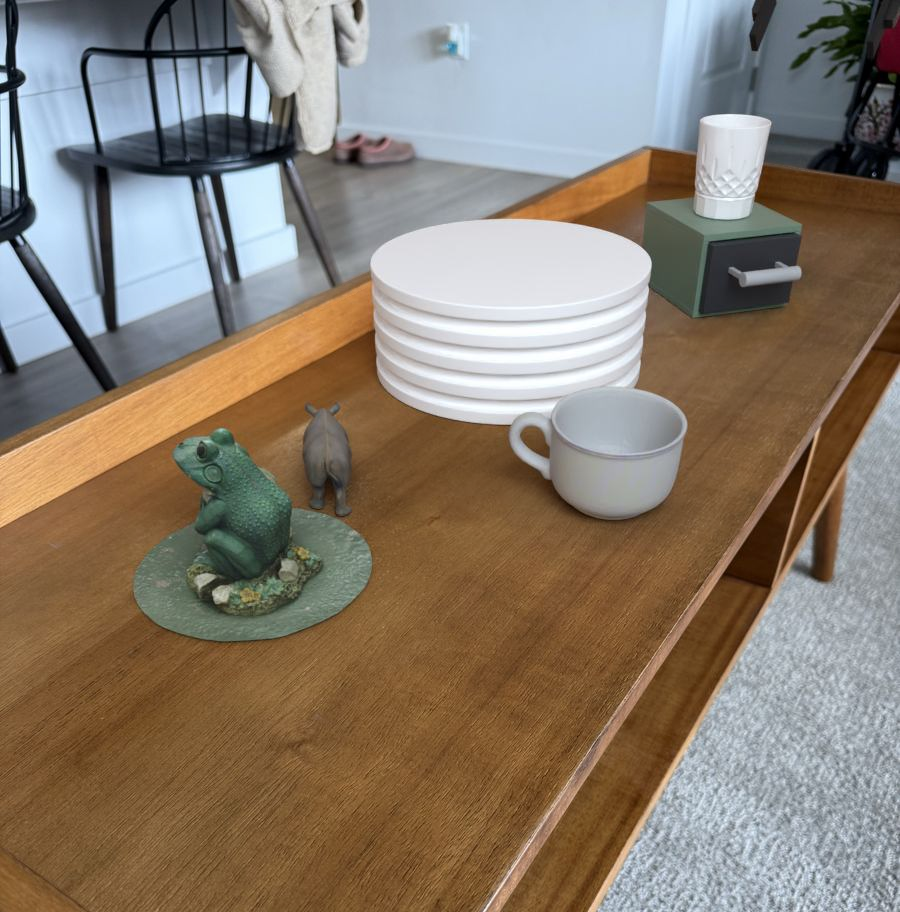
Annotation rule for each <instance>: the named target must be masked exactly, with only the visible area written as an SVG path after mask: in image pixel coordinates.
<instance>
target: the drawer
mask: <svg viewBox="0 0 900 912" xmlns="http://www.w3.org/2000/svg"><path fill="white" fill-rule="evenodd" d="M802 238H803V236H802V235H801V234H800V235H799V234H797V233H794V234H785V235H784V233H782V234H773V235H764V236H755V237H746V238H737V239H728V240H719V241H710V242H709V243H708V248H707V255H706V262H705V269H704V276H703V283H702V289H701V296H700V303H699V311H700V312H702V313H703V314H704V313H712V312H720V311H728V310H735V309H743V308H751V307H759V306H766V305H774V304H782V303H786V304H788V303H789V302H790V298H791V293H792V289H793V282H797V281H799V280H801V278H802V275H803V274H802V268H801V266H799V265H797V262H798V259H799V253H800V248H801V243H802Z"/></svg>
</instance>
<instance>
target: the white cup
mask: <svg viewBox="0 0 900 912" xmlns="http://www.w3.org/2000/svg"><path fill="white" fill-rule="evenodd" d="M698 127H699V128H698V138H697V139H698V140H697V151H696V159H695V176H694V177H695V178H694V189H695V191H694V196H693V198H694V206H693V210H694V212H695V213H696V214H697V215H700V216H702V217H705V218H709V219H710V218H711V219H721V220H735V219H741V218H745V217H748V216H749V215H750V214H751V212H752V208H753V203H754V202H755V198H756V193H757V190H758V187H759V183H760V179H761V174H762V170H763V165H764V161H765V157H766V151H767V147H768V142H769V138H770V137H769V136H770V133H771V128H772V121H771V120H770V119H769V118H765V117H762V116H758V115H753V114H752V115H751V114H742V113H741V114H740V113H739V114H737V113H725V114H724V113H722V114H712V115H707V116H704V117H702V118H700V119H699V126H698Z"/></svg>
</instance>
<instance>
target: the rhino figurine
mask: <svg viewBox="0 0 900 912" xmlns="http://www.w3.org/2000/svg"><path fill="white" fill-rule="evenodd" d="M340 405H341V404H340V402H335V403H333V404H332V406H331V407H330V408H329V409H327V408H326V407H325V408H324V407H322V408H319V409H316V408H315V407H314V406H313V405H312V404H310V403H309V402H305V405H304V410H305V411H306V413H308V414H309V415H311V416H312V418H311V420H310V421H309V423H308V424H307V426H306V427H305V430H304V433H303V437H302V452H301V453H302V454H301V455H302V460H303V463H304V471H305V474H306V478H307V480H308V482H309V483H310V485H311V487H312V498H311V499H310V500H309V502H308V506H309V507H310V508H312V509H314V510H321V509H324V507H325V506H326V498H325V497H324V495H325V490H326V489H325V488H326V482H327V480H328V478H329V479H330V482H331V484H332V487H333V490H334V500H335V507H334V512H335V515H336V516H337V517H345V516H348V515H349V514H351V513H352V512H353V509H352V507H351V506H350V505H348V504H347V495H348V494H347V493H348V485H349V482H350V480H351V476H352V472H353V471H352V470H353V469H352V468H353V465H352V457H353V452H352V448H351V445H350V439H349V436H348V433H347V431H346V428H345V427H344V426H343V424H341V423H340V422H339V421H338V420H337V418H336V417H334V416H335V415H336V414H337V413H338V412H340V410H341V406H340Z"/></svg>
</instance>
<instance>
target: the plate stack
mask: <svg viewBox="0 0 900 912" xmlns="http://www.w3.org/2000/svg"><path fill="white" fill-rule="evenodd" d="M369 265H370V278H371V281H372V285H371V299H372V305H373V307H374V308H373V327H374V331H375V333H374V344H375V345H374V346H375V354H376V357H375V358H376V360H375V361H376V364H375V365H376V374H377V378H378V381H379V382H380V384H381V385H382V387H383V389H385V391H386V392H387V393H388V394H389V395H391V396H392V397H394V398H395V399H397V400H398V401H399V402H401V403H403V404H405V405H406V406H409V407H411V408H414V409H415V410H418V411H421V412H423V413H427V414H429V415H433V416H436V417H440V418H445V419H448V420H454V421H458V422H459V421H460V422H465V423H471V424H472V423H473V424H481V425H497V426H498V425H499V426H511V424H512V423H513V421H514V420H515V419H516V418H517V417H518V416H519V415H521V414H523V413H526V412H537V413H541V414H543V415H545V416H547V417H548V418H549V419H551V414H552V411H553V409H554V407H555V406H556V404H557V403H558V402H559V401H560V400H561V399H562V398H564V397H566V396H567V395H569V394H571V393H574V392H576V391H580V390H583V389H588V388H593V387H610V386H616V387H628V388H635V387H636V386H637V383H638V381H639V379H640V372H641V364H642V363H641V357H642V355H643V354H642V353H643V348H644V347H643V346H644V333H645V328H646V320H647V313H646V312H647V311H646V309H647V306H648V301H649V292H650V287H649V286H648V283H649V281H650V276H651V267H652V262H651V259H650V257H649V255H648V253H647V252H646V251H645V250H644V249H643V248H642V246H640V245H639V244H637V243H636V242H634V241H632V240H631V239H628V238H626V237H624V236H622V235H619V234H616V233H614V232H611V231H608V230H604V229H601V228H597V227H593V226H588V225H584V224H579V223H571V222H566V221H565V222H564V221H556V220H547V219H534V218H533V219H532V218H489V219H487V218H486V219H473V220H464V221H463V220H461V221H454V222H448V223H442V224H441V223H440V224H436V225H431V226H427V227H423V228H419V229H415V230H412V231H409V232H406V233H403V234H400V235H399V236H396V237H394V238H392V239H390V240H388V241H386V242H384V243H383V244H382V245H380V246H379V247H378V248H377V249H376V250H375V251H374V253H373V254H372V256H371V258H370V263H369Z"/></svg>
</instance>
